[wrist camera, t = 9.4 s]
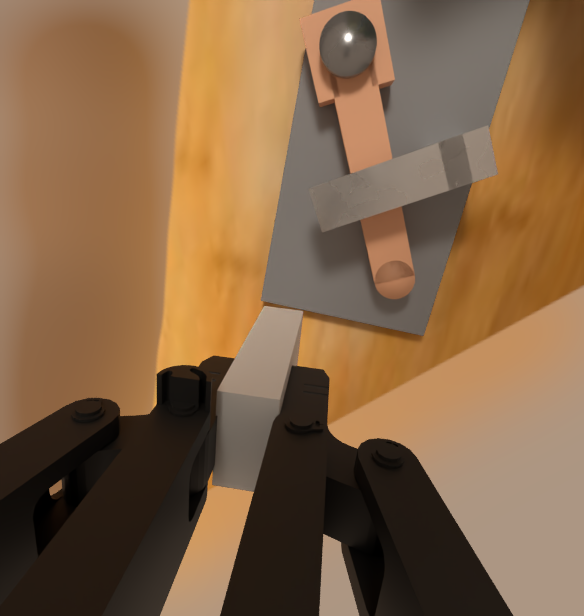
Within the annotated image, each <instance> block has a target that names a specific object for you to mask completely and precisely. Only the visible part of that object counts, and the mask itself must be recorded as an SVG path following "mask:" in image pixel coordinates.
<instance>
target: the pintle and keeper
mask: <svg viewBox="0 0 584 616" xmlns="http://www.w3.org/2000/svg"><path fill="white" fill-rule="evenodd" d="M376 47H377V36H376V31H375V28H374V26H373V24H372V23H371V21H370V20H369V19H368V18H367V17H366V16H365V15H363V14H362V13H359V12H356V11H344V12H340V13H338V14H336V15H335V16H333V17H332V18H331V19H330V20H329V21H328V22H327V23H326V25H325V26H324V28H323V30H322V33H321V36H320V41H319V50H320V56H321V60H322V62H323V64H324V66H325V68H326V69H327V70H328V71H329V72H330V73H331V74H332V75H334V76H336V77H339V78H344V79H349V78H353V77H356V76H358V75H360V74H362V73H363V72H364V71H365V70H366V69H367V68H368V67H369V65H370V64H371V62H372V60H373V58H374V55H375V51H376ZM497 174H498V172H497V167H496V162H495V157H494V152H493V147H492V142H491V137H490V132H489V127H488V125H487V126H484V127H481V128H478V129H475V130H471V131H468V132H465V133H462V134H459V135H456V136H454V137H451V138H448V139H445V140H442V141H439V142H437V143H434V144H431V145H428V146H425V147H423V148H422V149H419V150H416V151H413V152H410V153H407V154H405V155H402V156H399V157H396V158H393V159H390V160H388V161H385V162H382V163H379V164H376V165H373V166H371V167H368V168H365V169H362V170H359V171H356V172H354V173H351V174H348V175H345V176H342V177H339V178H337V179H334V180H331V181H328V182H325V183H323V184H320V185H317V186H314V187H311V188H309V189H308V190H309V193H310V196H311V199H312V202H313V205H314V209H315V212H316V215H317V218H318V221H319V224H320V227H321V230H322V232H325V231H328V230H331V229H334V228H337V227H340V226H343V225H346V224H349V223H352V222H355V221H358V220H361V219H364V218H367V217H370V216H373V215H376V214H379V213H382V212H385V211H388V210H391V209H395V208H398V207H401V206H404V205H407V204H410V203H413V202H416V201H419V200H422V199H425V198H428V197H431V196H434V195H437V194H440V193H443V192H446V191H449V190H452V189H455V188H458V187H461V186H464V185H467V184H470V183H473V182H476V181H479V180H482V179H485V178H488V177H491V176H494V175H497Z"/></svg>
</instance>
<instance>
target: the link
mask: <svg viewBox="0 0 584 616" xmlns="http://www.w3.org/2000/svg"><path fill="white" fill-rule="evenodd" d="M344 11H356V12H359V13H362V14H363V15H365V16H366V17H367V18H368V19H369V20H370V21H371V23H372V24H373V26H374V28H375V31H376V36H377V47H376V51H375V55H374V58H373V60H372V62H371V64H370V65H369V67H368V68H367V69H366V70H365V71H364V72H363V73H362V74H360V75H358V76H356V77H353V78H349V79H344V78H339V77H336V76H334V75H332V74H331V73H330V72H329V71H328V70H327V69H326V68H325V66H324V64H323V62H322V60H321V56H320V50H319V41H320V36H321V33H322V30H323V28H324V26H325V25H326V23H327V22H328V21H329V20H330V19H331V18H332V17H333V16H335V15H336V14H338V13H340V12H344ZM299 20H300V24H301V29H302V33H303V37H304V42H305V46H306V50H307V55H308V59H309V64H310V68H311V72H312V77H313V81H314V85H315V90H316V94H317V99H318V103H319V106H320V107H323V106H326V105H329V104H332V103H335V107H336V112H337V116H338V121H339V125H340V130H341V134H342V139H343V144H344V148H345V153H346V157H347V162H348V166H349V171H350V174H351V173H354V172H356V171H359V170H362V169H365V168H368V167H371V166H373V165H376V164H379V163H382V162H385V161H388V160H390V159H392V153H391V148H390V143H389V138H388V132H387V127H386V122H385V117H384V111H383V106H382V101H381V96H380V90H379V89H381V88H384V87H388V86H391V85H392V84H393V82H394V80H395V77H394V71H393V66H392V60H391V55H390V49H389V44H388V38H387V33H386V27H385V21H384V16H383V10H382V5H381V0H351V1H348V2H345V3H342V4H339V5H337V6H334V7H331V8H328V9H325V10H322V11H319V12H316V13H314V14H311V15H308V16H305V17H302V18H299ZM360 221H361V226H362V230H363V235H364V239H365V244H366V249H367V253H368V258H369V262H370V267H371V271H372V276H373V280H374V283H375V286H376V289H377V290H378V292H379V293H380V294H381V295H382V296H384V297H386V298H389V299H399V298H402V297H404V296H406V295H407V294H409V293H410V291H411V290H412V289H413V287H414V284H415V274H414V269H413V263H412V258H411V253H410V248H409V242H408V237H407V232H406V227H405V221H404V216H403V211H402V206H401V207H398V208H395V209H391V210H388V211H385V212H382V213H379V214H376V215H373V216H370V217H367V218H364V219H361V220H360Z"/></svg>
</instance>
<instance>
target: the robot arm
mask: <svg viewBox="0 0 584 616" xmlns="http://www.w3.org/2000/svg"><path fill="white" fill-rule="evenodd" d="M302 318H303V311H300V310H292V309H284V308H276V307H269V306H264V307H263V309H262V311H261V313H260V315H259V316H258V318H257V320H256V322H255V324H254V325H253V327H252V329H251V331H250V332H249V334H248V336H247V338H246V340H245V341H244V343H243V345H242V347H241V349H240V350H239V352H238V354H237V356H236V357H235V359H234V358H227V357H220V356H212V357H210V358H208V359H206V360H204V361H202V363H201V364H200V365H199V367H196V366H190V365H180V366H172V367H169V368H166V369H163V370H162V371H160V372H159V373H158V374H157V405H156V406H155V408H154V409H153V410H152V411H151V413H150V414H148V415H137V416H120V408H119V407H118V405H117V404H116V403H115V402H113V401H111V400H108V399H102V398H87V399H83V400H79V401H75V402H73V403H71V404H69V405H66V406H65V407H63V408H61V409H60V410H58V411H56V412H54V413H53V414H51V415H49V416H47V417H46V418H44V419H43V420H41V421H39V422H37V423H35V424H34V425H32V426H30V427H28V428H27V429H25V430H23V431H22V432H20V433H18V434H16V435H15V436H13V437H11V438H10V439H8V440H6V441H5V442H3V443H1V444H0V616H160V614H161V611H162V608H163V606H164V604H165V601H166V599H167V596H168V594H169V591H170V589H171V586H172V584H173V581H174V579H175V576H176V574H177V571H178V569H179V566H180V564H181V561H182V559H183V557H184V554H185V552H186V549H187V547H188V544H189V541H190V539H191V537H192V534H193V532H194V529H195V527H196V524H197V522H198V519H199V517H200V514H201V512H202V509H203V507H204V504H205V502H206V498H207V485H208V480H209V477H210V475H211V473H212V470H213V480H212V485H216V486H222V487H228V488H234V489H240V490H246V491H253V492H254V494H253V497H252V501H251V505H250V508H249V512H248V515H247V519H246V523H245V526H244V530H243V534H242V537H241V541H240V545H239V548H238V552H237V556H236V559H235V563H234V567H233V571H232V574H231V578H230V581H229V585H228V589H227V592H226V596H225V600H224V604H223V607H222V611H221V614H220V616H319V605H320V586H321V566H322V565H321V564H322V546H323V534H325V535H327V536H329V537H331V538H334V539H336V540H338V541H340V542H341V547H342V554H343V557H344V561H345V564H346V568H347V572H348V575H349V579H350V583H351V586H352V590H353V594H354V597H355V601H356V605H357V609H358V612H359V616H513V614H512V613H511V611H510V609H509V608H508V606H507V604H506V603H505V601H504V600H503V598H502V596H501V595H500V593H499V591H498V590H497V588H496V586H495V585H494V583H493V582H492V580H491V579H490V577H489V575H488V573H487V572H486V570H485V569H484V567H483V565H482V564H481V562H480V560H479V559H478V557H477V556H476V554H475V552H474V550H473V549H472V547H471V546H470V544H469V542H468V541H467V539H466V537H465V536H464V534H463V532H462V531H461V529H460V528H459V526H458V524H457V523H456V521H455V519H454V518H453V516H452V514H451V513H450V511H449V510H448V508H447V506H446V505H445V503H444V501H443V500H442V498H441V496H440V495H439V493H438V492H437V490H436V488H435V487H434V485H433V484H432V482H431V480H430V478H429V477H428V475H427V474H426V472H425V470H424V469H423V467H422V466H421V464H420V462H419V460H418V459H417V457H416V456H415V455H414V454H413V453H412V452H411V450H410V449H408V448H406V447H405V446H403V445H401V444H400V443H397V442H395V441H392V440H388V439H379V438H377V439H369V440H367V441H365V442H363V443H361V445H360V446H359V448H358V449H357V448H354V447H351V446H349V445H347V444H344V443H342V442H341V441H339V440H338V439H336V438H335V437H334V436H333V435H332V434H331V433H330V431H329V430H328V426H327V414H328V395H329V377H328V376H327V374H326V373H325V371H324V370H322V369H314V368H307V367H300V366H297V362H298V353H299V345H300V336H301V327H302ZM61 479H62V489H61V490H60V491H58V492H57V493H55V494H53V495H52V496H50V493H49V488H50V487H52V486H53V485H54V484H56V483H57V482H58V481H59V480H61Z"/></svg>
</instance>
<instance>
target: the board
mask: <svg viewBox="0 0 584 616" xmlns="http://www.w3.org/2000/svg"><path fill="white" fill-rule="evenodd" d="M348 1H351V0H314V4H313V10H312V14H314V13H316V12H319V11H322V10H325V9H328V8H331V7H334V6H337V5H339V4H342V3H345V2H348ZM529 1H530V0H381V5H382V10H383V16H384V21H385V27H386V33H387V38H388V44H389V49H390V55H391V60H392V66H393V71H394V77H395V80H394V82H393V84H392V85H391V86H388V87H384V88H381V89H379V90H380V96H381V101H382V106H383V111H384V117H385V122H386V127H387V132H388V138H389V143H390V148H391V153H392V159H393V158H396V157H399V156H402V155H405V154H407V153H410V152H413V151H416V150H419V149H422V148H423V147H425V146H428V145H431V144H434V143H437V142H439V141H442V140H445V139H448V138H451V137H454V136H456V135H459V134H462V133H465V132H468V131H471V130H475V129H478V128H481V127H484V126H487V125H488V127H490V124H491V121H492V118H493V115H494V111H495V108H496V105H497V102H498V99H499V96H500V93H501V89H502V86H503V83H504V80H505V77H506V74H507V70H508V67H509V64H510V61H511V58H512V55H513V51H514V48H515V45H516V42H517V39H518V36H519V32H520V29H521V26H522V23H523V20H524V17H525V13H526V10H527V7H528V4H529ZM348 174H350V171H349V166H348V162H347V157H346V153H345V148H344V144H343V139H342V134H341V130H340V125H339V121H338V116H337V112H336V107H335V103H332V104H329V105H326V106H323V107H320V106H319V103H318V99H317V94H316V90H315V85H314V81H313V77H312V72H311V68H310V64H309V59H308V55H307V50H306V49H305V55H304V60H303V66H302V72H301V77H300V83H299V89H298V94H297V100H296V105H295V111H294V117H293V122H292V128H291V134H290V139H289V145H288V151H287V156H286V162H285V167H284V173H283V179H282V184H281V190H280V196H279V201H278V207H277V213H276V218H275V224H274V229H273V235H272V241H271V246H270V252H269V258H268V263H267V269H266V275H265V280H264V286H263V291H262V297H261V301H265V302H270V303H274V304H279V305H283V306H288V307H293V308H297V309H302V310H306V311H311V312H316V313H320V314H325V315H329V316H334V317H339V318H343V319H348V320H352V321H357V322H362V323H366V324H371V325H375V326H380V327H385V328H389V329H394V330H398V331H403V332H408V333H412V334H417V335H421V336H424V333H425V330H426V326H427V323H428V320H429V317H430V314H431V311H432V307H433V304H434V301H435V298H436V295H437V292H438V289H439V285H440V282H441V279H442V276H443V273H444V270H445V266H446V263H447V260H448V257H449V254H450V251H451V247H452V244H453V241H454V238H455V235H456V232H457V228H458V225H459V222H460V219H461V216H462V213H463V209H464V206H465V203H466V200H467V197H468V194H469V191H470V187H471V184H472V183H470V184H467V185H464V186H461V187H458V188H455V189H452V190H449V191H446V192H443V193H440V194H437V195H434V196H431V197H428V198H425V199H422V200H419V201H416V202H413V203H410V204H407V205H404V206H402V211H403V216H404V221H405V227H406V232H407V237H408V242H409V248H410V253H411V258H412V263H413V269H414V274H415V284H414V287H413V289H412V290H411V291H410V293H409V294H407V295H406V296H404V297H402V298H399V299H389V298H386V297H384V296H382V295H381V294H380V293H379V292H378V290H377V289H376V286H375V283H374V280H373V276H372V271H371V267H370V262H369V258H368V253H367V249H366V244H365V239H364V235H363V230H362V226H361V221H360V220H358V221H355V222H352V223H349V224H346V225H343V226H340V227H337V228H334V229H331V230H328V231H325V232H322V230H321V227H320V224H319V221H318V218H317V215H316V212H315V209H314V205H313V202H312V199H311V196H310V193H309V190H308V189H309V188H311V187H314V186H317V185H320V184H323V183H325V182H328V181H331V180H334V179H337V178H339V177H342V176H345V175H348Z"/></svg>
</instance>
